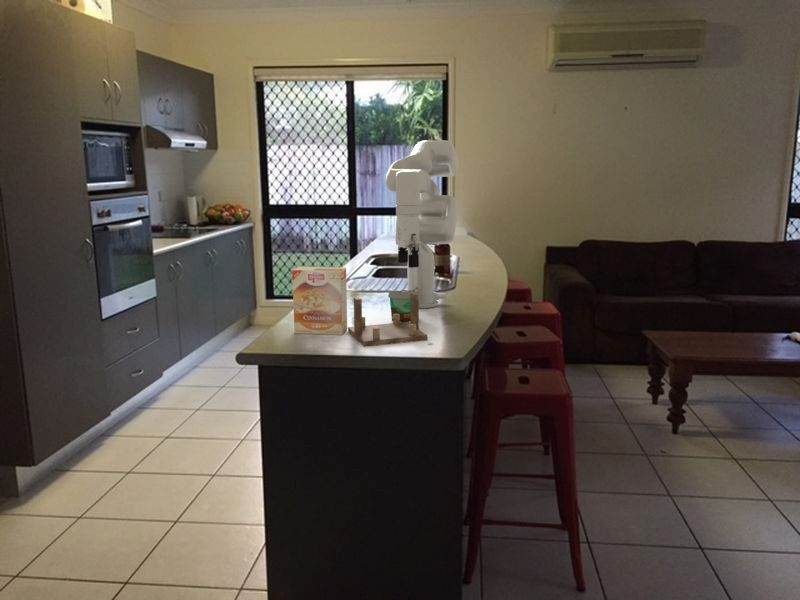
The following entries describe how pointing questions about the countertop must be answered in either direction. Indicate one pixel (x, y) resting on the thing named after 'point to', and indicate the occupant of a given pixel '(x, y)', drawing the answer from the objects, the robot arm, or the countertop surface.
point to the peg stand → (387, 326)
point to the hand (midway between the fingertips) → (408, 264)
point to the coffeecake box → (320, 300)
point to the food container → (402, 303)
